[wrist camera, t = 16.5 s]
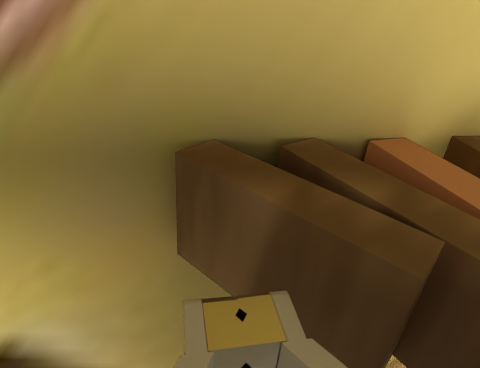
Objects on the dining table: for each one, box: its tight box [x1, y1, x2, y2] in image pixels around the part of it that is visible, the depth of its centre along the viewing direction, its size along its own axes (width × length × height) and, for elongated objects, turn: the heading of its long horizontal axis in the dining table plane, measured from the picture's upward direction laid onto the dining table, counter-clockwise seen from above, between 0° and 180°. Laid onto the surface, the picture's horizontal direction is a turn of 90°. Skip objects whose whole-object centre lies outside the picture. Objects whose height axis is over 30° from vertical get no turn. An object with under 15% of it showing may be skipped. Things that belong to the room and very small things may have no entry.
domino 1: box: [175, 139, 445, 368], centre depth 13 cm, size 2×5×9 cm
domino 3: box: [278, 138, 480, 368], centre depth 13 cm, size 2×5×9 cm, turn 175°
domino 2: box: [364, 138, 480, 219], centre depth 14 cm, size 2×5×9 cm, turn 176°
